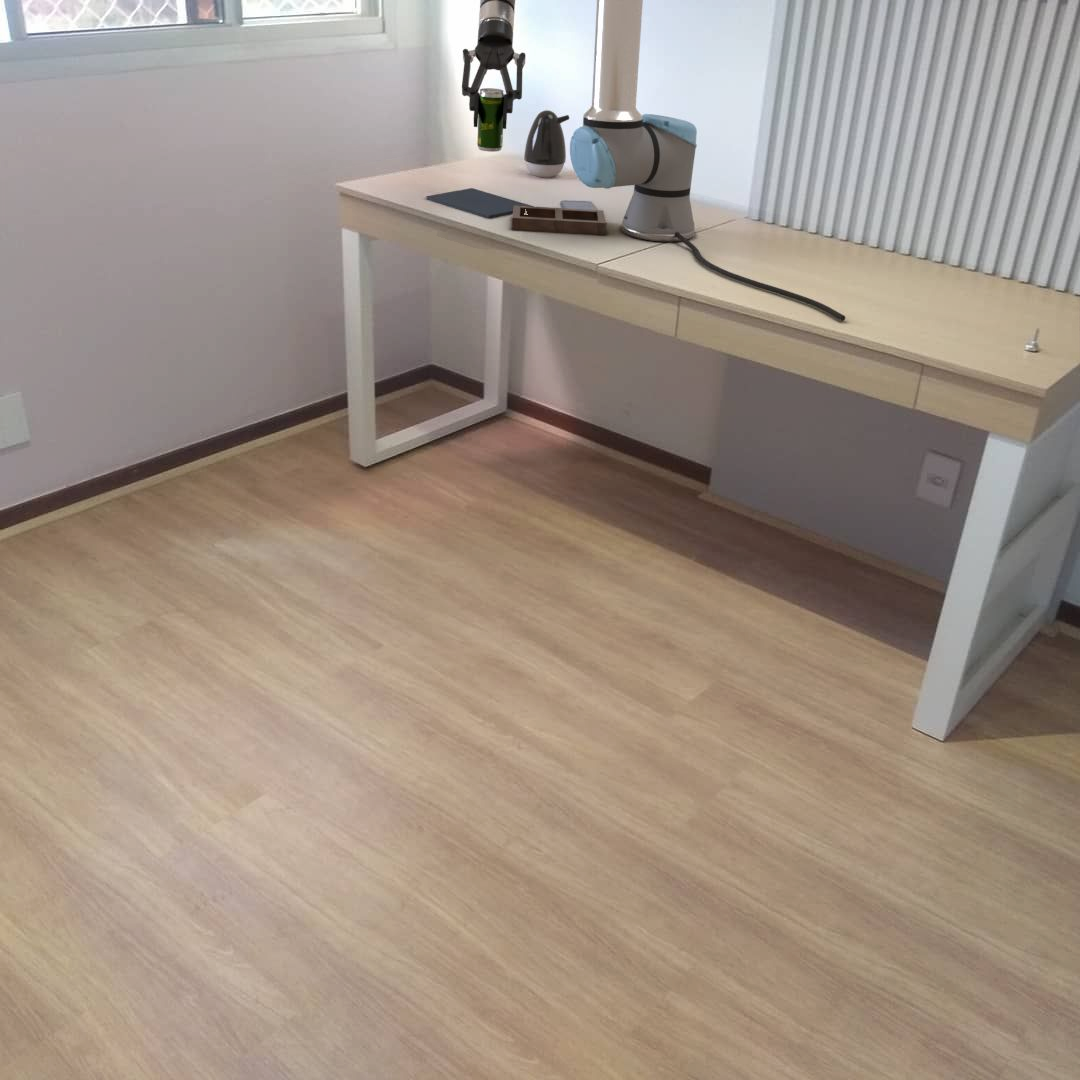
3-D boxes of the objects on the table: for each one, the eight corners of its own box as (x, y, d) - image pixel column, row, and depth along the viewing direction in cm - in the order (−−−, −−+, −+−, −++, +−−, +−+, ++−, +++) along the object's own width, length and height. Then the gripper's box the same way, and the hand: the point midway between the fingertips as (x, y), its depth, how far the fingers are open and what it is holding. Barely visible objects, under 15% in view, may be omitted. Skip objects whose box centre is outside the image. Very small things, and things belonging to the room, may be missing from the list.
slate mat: (534, 209, 256) (534, 206, 256) (488, 218, 247) (488, 215, 247) (471, 190, 268) (471, 187, 267) (426, 198, 258) (426, 196, 258)
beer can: (501, 147, 252) (503, 88, 246) (503, 152, 247) (505, 92, 241) (476, 146, 251) (478, 87, 245) (477, 151, 247) (479, 91, 241)
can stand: (602, 222, 250) (603, 210, 248) (604, 235, 240) (605, 223, 239) (513, 217, 249) (513, 205, 248) (511, 229, 240) (512, 217, 239)
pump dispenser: (565, 181, 281) (569, 115, 273) (522, 178, 281) (525, 112, 273) (565, 171, 290) (569, 108, 282) (524, 169, 290) (527, 105, 282)
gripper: (537, 44, 253) (533, 137, 247) (453, 38, 253) (446, 132, 247) (539, 20, 246) (534, 115, 240) (452, 15, 245) (445, 110, 239)
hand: (489, 123), depth 243 cm, fingers closed on beer can, 5 cm apart
